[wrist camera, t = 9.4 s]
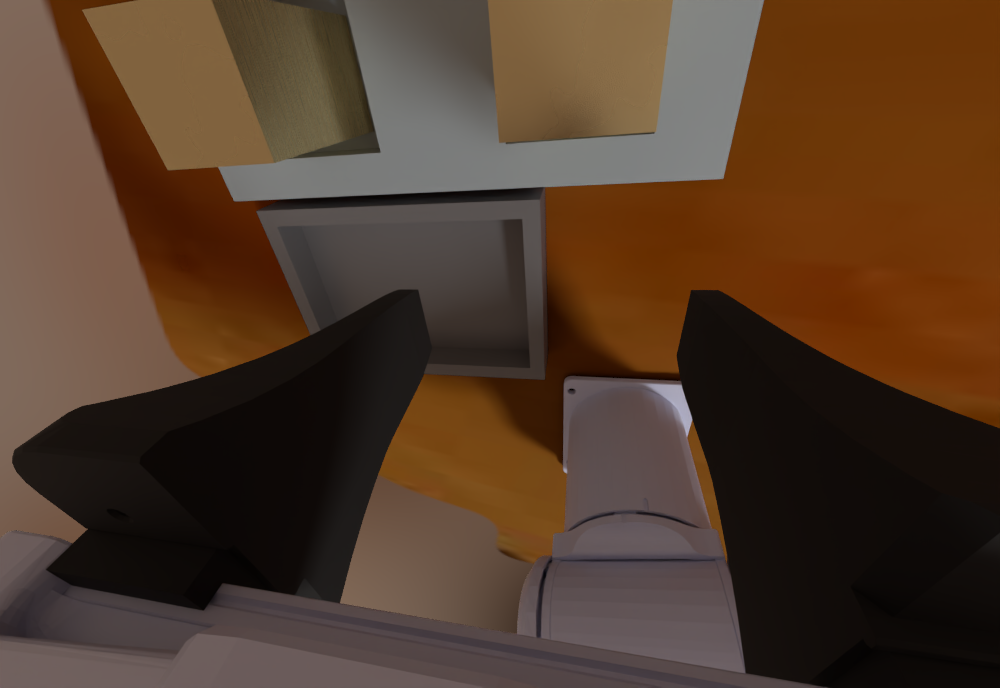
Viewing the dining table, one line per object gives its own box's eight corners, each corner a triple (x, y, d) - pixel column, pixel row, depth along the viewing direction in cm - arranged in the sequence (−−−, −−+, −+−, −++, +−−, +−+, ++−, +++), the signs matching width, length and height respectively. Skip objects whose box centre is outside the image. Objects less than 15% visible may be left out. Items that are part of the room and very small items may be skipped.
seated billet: (630, 106, 15) (656, 131, 10) (529, 115, 16) (498, 142, 10) (643, -33, 13) (686, -105, 7) (524, -15, 14) (482, -69, 8)
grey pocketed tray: (706, 165, 17) (723, 178, 15) (267, 188, 21) (234, 201, 19) (772, -159, 12) (810, -205, 10) (173, -41, 16) (114, -56, 14)
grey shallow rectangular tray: (548, 353, 24) (544, 379, 22) (345, 346, 27) (325, 368, 25) (544, 184, 18) (540, 199, 16) (287, 197, 21) (256, 211, 19)
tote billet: (374, 131, 17) (274, 163, 12) (295, 137, 18) (167, 170, 13) (346, 15, 15) (206, -13, 10) (258, 28, 16) (82, 10, 10)
